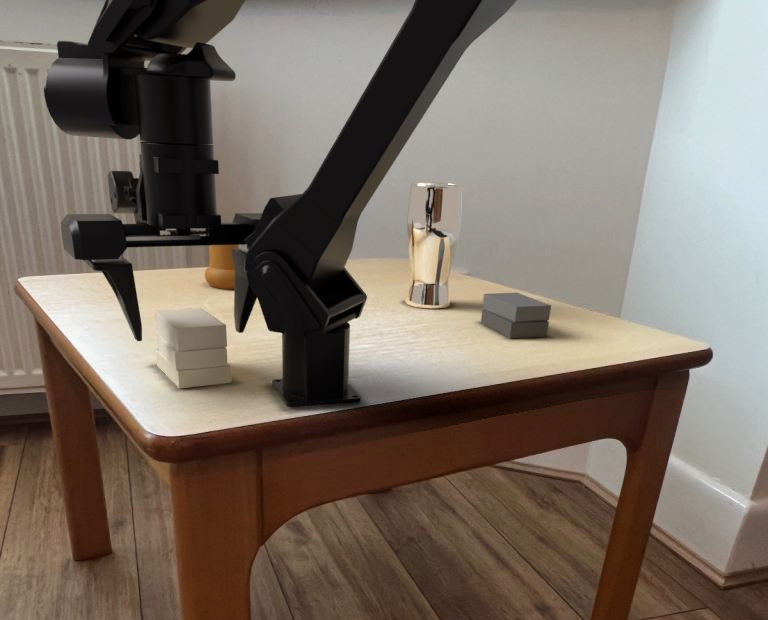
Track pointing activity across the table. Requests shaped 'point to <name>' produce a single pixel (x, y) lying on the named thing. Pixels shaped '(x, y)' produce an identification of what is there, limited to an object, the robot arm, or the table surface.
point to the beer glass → (432, 241)
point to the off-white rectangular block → (190, 329)
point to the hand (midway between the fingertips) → (190, 335)
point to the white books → (193, 365)
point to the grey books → (515, 315)
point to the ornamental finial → (221, 267)
